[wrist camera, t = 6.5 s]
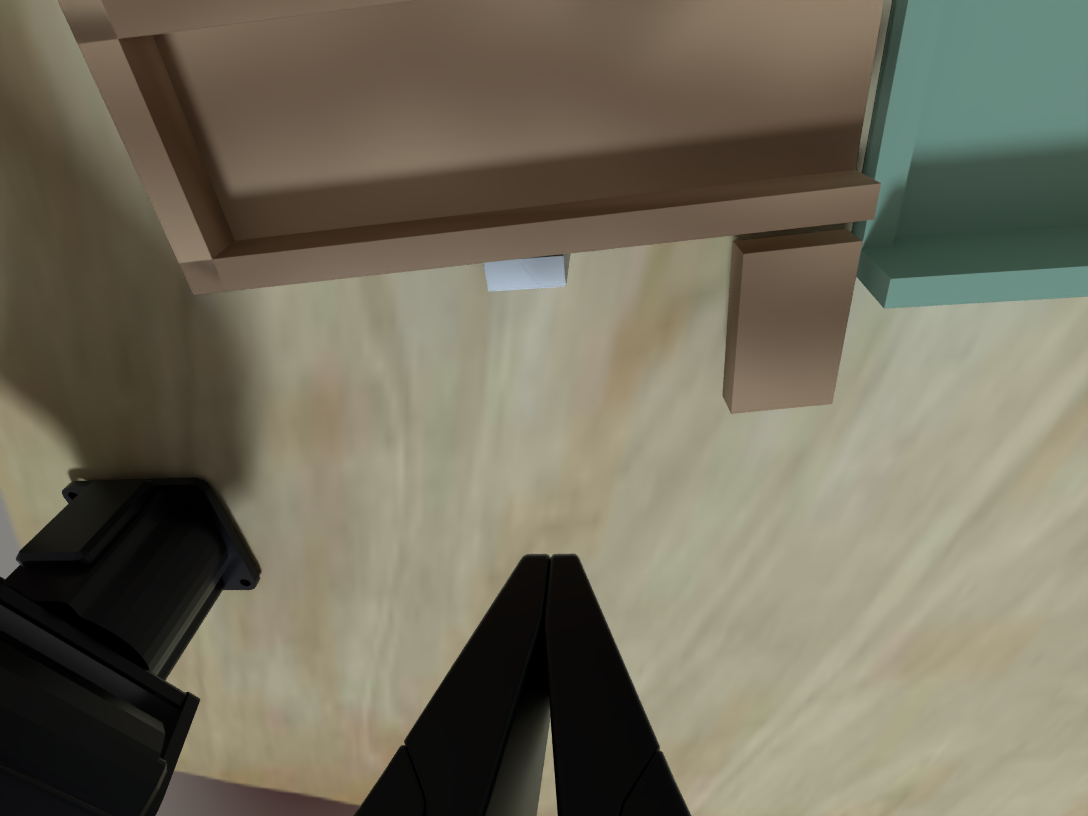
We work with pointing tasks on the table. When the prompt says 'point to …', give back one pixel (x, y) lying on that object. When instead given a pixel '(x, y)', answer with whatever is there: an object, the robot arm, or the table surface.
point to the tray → (979, 154)
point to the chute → (507, 144)
